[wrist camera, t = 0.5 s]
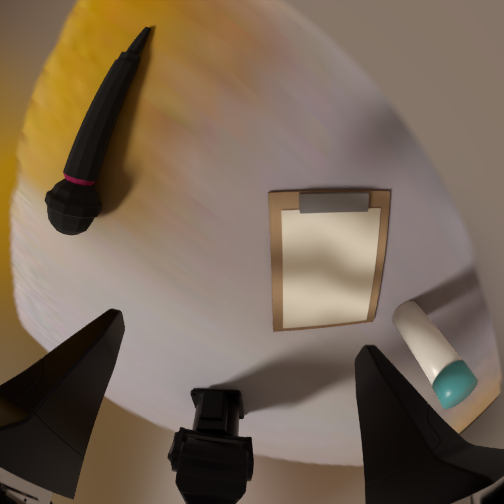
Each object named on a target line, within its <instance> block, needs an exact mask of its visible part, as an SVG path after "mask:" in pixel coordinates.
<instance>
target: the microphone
mask: <svg viewBox="0 0 504 504" xmlns="http://www.w3.org/2000/svg"><path fill="white" fill-rule="evenodd" d="M150 30H151V29H150V28H149V27H145V28H144V29H143V30H142V32H141V33H140V34H139V35H138V36H137V38H136V39H135V40H134V41H133V43H132V44H131V45H130V47H129V48H128V50H127V51H126V52H122V53H121V54H120V56H119V58H118V59H117V60H115V62H114V63H113V65H112V66H111V68H110V70H109V72H108V73H107V75H106V77H105V78H104V80H103V82H102V84H101V86H100V88H99V89H98V91H97V93H96V95H95V97H94V99H93V101H92V103H91V105H90V107H89V109H88V111H87V113H86V116H85V118H84V120H83V122H82V124H81V127H80V129H79V131H78V134H77V136H76V139H75V141H74V144H73V146H72V149H71V151H70V154H69V157H68V159H67V162H66V165H65V168H64V171H63V173H64V176H65V179H63V180H62V181H60V182H58V183H57V184H56V185H55V186H54V187H53V189H52V190H50V191H48V192H47V193H46V197H45V202H46V204H47V212H48V219H49V221H50V222H51V224H52V225H53V227H54V228H55V229H56V230H57V231H59V232H61V233H63V234H66V235H77V234H80V233H82V232H84V231H86V230H87V229H88V227H89V226H90V225H91V223H92V222H93V220H94V218H95V217H97V216H98V214H99V213H100V211H101V207H102V204H101V203H100V202H99V198H98V193H97V191H96V190H95V188H94V186H93V184H94V183H95V182H96V181H97V180H98V177H99V173H100V169H101V166H102V162H103V159H104V155H105V152H106V149H107V145H108V142H109V139H110V136H111V133H112V130H113V127H114V124H115V121H116V119H117V116H118V113H119V111H120V108H121V105H122V103H123V100H124V98H125V95H126V93H127V91H128V88H129V86H130V84H131V81H132V79H133V77H134V75H135V72H136V70H137V68H138V67H137V65H138V63H139V61H140V58H139V54H140V52H141V50H142V48H143V46H144V44H145V41H146V39H147V37H148V34H149V32H150Z"/></svg>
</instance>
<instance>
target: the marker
mask: <svg viewBox="0 0 504 504" xmlns="http://www.w3.org/2000/svg"><path fill="white" fill-rule="evenodd" d="M392 321H393V324H394V325H395V327H396V328H397V330H398V331H399V333H400V334H401V336H402V337H403V339H404V340H405V342H406V343H407V345H408V347H409V348H410V350H411V351H412V353H413V354H414V356H415V358H416V359H417V361H418V362H419V364H420V366H421V367H422V369H423V371H424V372H425V374H426V376H427V377H428V379H429V381H430V383H431V384H432V388H433V390H434V392H435V393H436V395H437V397H438V399H439V401H440V402H441V404H442V406H443V408H444V409H449V408H452V407H454V406H456V405H457V404H459V403H460V402H462V401H463V400H464V399H465V398H467V397H468V396H469V395H470V393H471V392H472V391H473V390H474V388H475V387H476V385H477V378H476V377H475V376H474V374H473V373H472V371H471V370H470V369H469V367H468V366H467V364H466V363H465V362H464V361H463V360H462V359H461V358H460V357H459V355H458V354H457V353H456V351H455V350H454V349H453V348H452V346H451V345H450V344H449V342H448V341H447V340H446V339H445V337H444V336H443V335H442V333H441V332H440V331H439V330H438V328H437V327H436V326H435V325H434V324H433V322H432V321H431V320H430V319H429V318H428V316H427V315H426V314H425V313H424V312H423V310H422V309H421V308H420V307H419V306H418V305H417V303H416V302H414V301H407V302H404V303H403V304H401V305H400V306H399V307H398V308H397V309H396V310H395V312H394V314H393V318H392Z"/></svg>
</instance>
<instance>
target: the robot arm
mask: <svg viewBox="0 0 504 504" xmlns="http://www.w3.org/2000/svg"><path fill="white" fill-rule="evenodd" d="M124 331H125V325H124V320H123V315H122V312H121V311H120V310H116V309H109V310H108V311H106V312H105V313H103V314H102V315H101V316H99V317H98V318H96V319H95V320H93V321H92V322H91V323H89V324H88V325H86V326H85V327H84V328H82V329H81V330H79V331H78V332H77V333H75V334H74V335H72V336H71V337H70V338H68V339H67V340H66V341H64V342H63V343H61V344H60V345H59V346H57V347H56V348H55V349H53V350H52V351H51V352H49V353H48V354H47V355H45V356H44V357H43V358H41V359H40V360H39V361H37V362H36V363H34V364H33V365H32V366H30V367H29V368H27V369H26V370H24V371H23V372H21V373H20V374H18V375H17V376H15V377H13V378H12V379H10V380H8V381H7V382H5V383H3V384H2V385H0V504H53V503H52V502H51V497H52V493H56V494H59V495H62V496H64V497H67V498H71V499H74V496H75V492H76V487H77V483H78V479H79V475H80V471H81V468H82V463H83V460H84V456H85V453H86V449H87V446H88V442H89V439H90V436H91V433H92V429H93V426H94V423H95V420H96V417H97V414H98V411H99V408H100V405H101V403H102V400H103V397H104V394H105V391H106V389H107V386H108V383H109V381H110V378H111V375H112V373H113V370H114V367H115V364H116V360H117V357H118V353H119V349H120V346H121V342H122V338H123V335H124ZM355 379H356V399H357V406H358V414H359V422H360V431H361V440H362V451H363V462H364V476H365V498H366V499H365V500H366V504H504V449H497V448H489V447H482V446H476V445H473V444H470V443H468V442H467V441H465V440H464V439H463V438H462V437H461V436H460V435H459V434H458V433H457V432H456V431H455V430H454V429H453V428H451V427H450V426H449V425H448V424H447V423H446V422H445V421H444V420H443V419H442V418H441V417H440V416H439V415H438V414H437V412H436V411H435V410H434V409H433V408H432V407H431V406H430V405H429V404H428V403H427V401H426V400H425V399H424V398H423V397H422V396H421V395H420V394H419V393H418V391H417V390H416V389H415V388H414V387H413V386H412V385H411V384H410V383H409V382H408V380H407V379H406V378H405V377H404V376H403V375H402V374H401V373H400V372H399V371H398V370H397V368H396V367H395V366H394V365H393V364H392V363H391V362H390V361H389V360H388V359H387V358H386V357H385V355H384V354H383V353H382V352H381V351H380V350H379V349H378V348H377V347H376V346H375V345H364V346H363V348H362V349H361V351H360V352H359V354H358V355H357V357H356V359H355ZM190 394H191V397H192V400H193V403H194V405H195V408H196V413H195V418H194V424H193V429H192V430H190V429H185V428H183V427H180V430H179V432H176V433H175V436H174V440H173V444H172V446H171V449H170V451H169V453H168V459H169V461H170V462H171V466H172V471H175V472H177V474H176V485H177V487H178V489H179V491H180V493H181V495H182V497H183V499H184V501H185V503H186V504H236V503H237V502H238V501H239V500H240V499H241V497H242V496H243V495H244V494H245V492H246V484H247V481H251V479H252V474H253V466H254V458H253V448H252V438H251V437H239V436H238V430H239V419H243V418H244V411H243V405H242V398H241V392H240V391H237V390H191V393H190Z"/></svg>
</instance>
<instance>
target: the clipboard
mask: <svg viewBox="0 0 504 504" xmlns="http://www.w3.org/2000/svg"><path fill="white" fill-rule="evenodd" d="M268 197H269V219H270V243H271V270H272V302H273V332H276V331H291V330H303V329H314V328H325V327H334V326H343V325H351V324H359V323H367V322H373V320H374V316H375V311H376V306H377V300H378V295H379V289H380V283H381V277H382V270H383V263H384V256H385V247H386V238H387V228H388V217H389V202H390V191H384V190H315V191H283V192H268Z"/></svg>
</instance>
